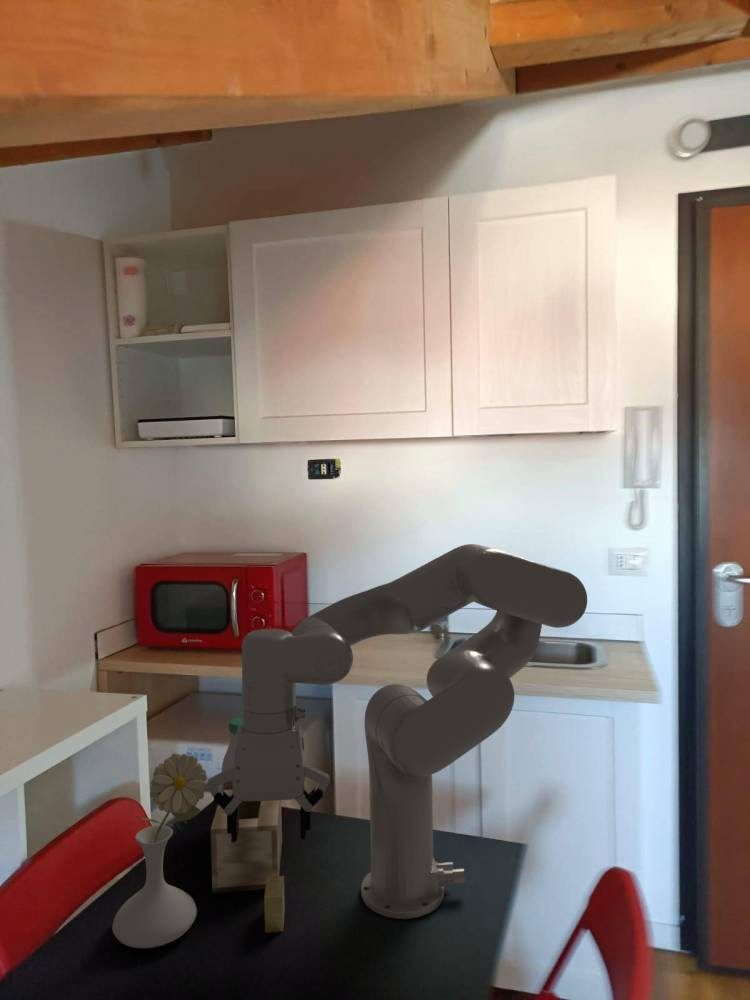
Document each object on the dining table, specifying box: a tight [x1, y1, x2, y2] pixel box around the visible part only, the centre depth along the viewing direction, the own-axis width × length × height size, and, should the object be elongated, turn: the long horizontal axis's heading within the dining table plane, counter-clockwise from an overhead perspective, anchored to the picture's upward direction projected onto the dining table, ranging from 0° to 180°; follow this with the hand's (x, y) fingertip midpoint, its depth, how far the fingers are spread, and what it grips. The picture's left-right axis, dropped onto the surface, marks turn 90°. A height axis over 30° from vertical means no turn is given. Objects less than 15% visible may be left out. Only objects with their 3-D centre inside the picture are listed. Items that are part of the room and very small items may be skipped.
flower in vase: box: [111, 752, 208, 949], centre depth 96 cm, size 13×11×25 cm
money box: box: [210, 789, 283, 894], centre depth 111 cm, size 10×13×10 cm
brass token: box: [263, 875, 286, 933], centre depth 98 cm, size 2×5×5 cm, turn 5°
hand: (269, 836), depth 97 cm, fingers open, 9 cm apart
